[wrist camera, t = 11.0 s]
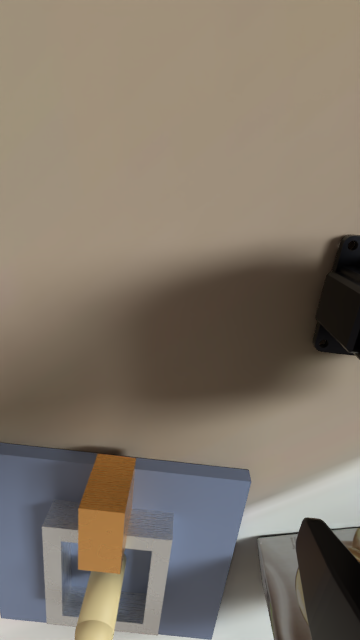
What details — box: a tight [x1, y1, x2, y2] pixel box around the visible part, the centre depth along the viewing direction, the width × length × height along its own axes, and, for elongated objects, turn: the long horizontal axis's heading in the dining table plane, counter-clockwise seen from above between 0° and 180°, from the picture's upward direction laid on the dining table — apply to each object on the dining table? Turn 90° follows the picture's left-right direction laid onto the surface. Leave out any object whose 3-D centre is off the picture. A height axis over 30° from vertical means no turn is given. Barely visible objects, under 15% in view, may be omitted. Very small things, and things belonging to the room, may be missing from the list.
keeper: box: [0, 443, 251, 640], centre depth 23 cm, size 18×18×7 cm
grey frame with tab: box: [42, 454, 174, 635], centre depth 22 cm, size 15×8×4 cm, turn 173°
